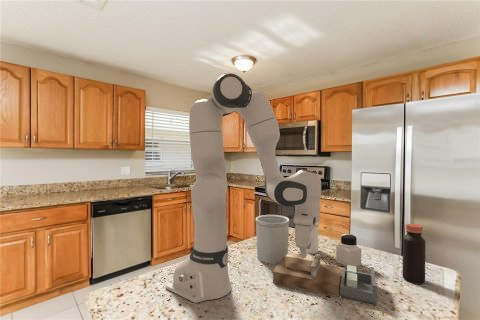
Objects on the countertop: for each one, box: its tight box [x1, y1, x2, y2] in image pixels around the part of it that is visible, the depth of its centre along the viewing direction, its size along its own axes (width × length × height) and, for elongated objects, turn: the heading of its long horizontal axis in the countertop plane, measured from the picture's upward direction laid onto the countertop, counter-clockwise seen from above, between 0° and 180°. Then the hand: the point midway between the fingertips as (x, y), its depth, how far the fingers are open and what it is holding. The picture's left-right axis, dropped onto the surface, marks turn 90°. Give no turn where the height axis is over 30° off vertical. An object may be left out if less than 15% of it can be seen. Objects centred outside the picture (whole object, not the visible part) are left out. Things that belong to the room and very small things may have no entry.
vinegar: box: [402, 223, 427, 285], centre depth 91 cm, size 7×7×20 cm
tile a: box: [347, 272, 357, 289], centre depth 81 cm, size 5×5×3 cm
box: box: [339, 266, 378, 306], centre depth 83 cm, size 10×14×6 cm
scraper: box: [285, 252, 321, 279], centre depth 91 cm, size 12×12×4 cm
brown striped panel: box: [272, 257, 342, 298], centre depth 90 cm, size 22×14×4 cm, turn 65°
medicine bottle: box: [335, 233, 362, 268], centre depth 105 cm, size 7×7×12 cm
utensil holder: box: [255, 214, 290, 265], centre depth 110 cm, size 15×15×18 cm
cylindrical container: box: [306, 222, 319, 254], centre depth 119 cm, size 7×7×25 cm
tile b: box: [346, 265, 357, 274], centre depth 87 cm, size 5×5×3 cm
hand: (305, 252), depth 90 cm, fingers open, 8 cm apart
